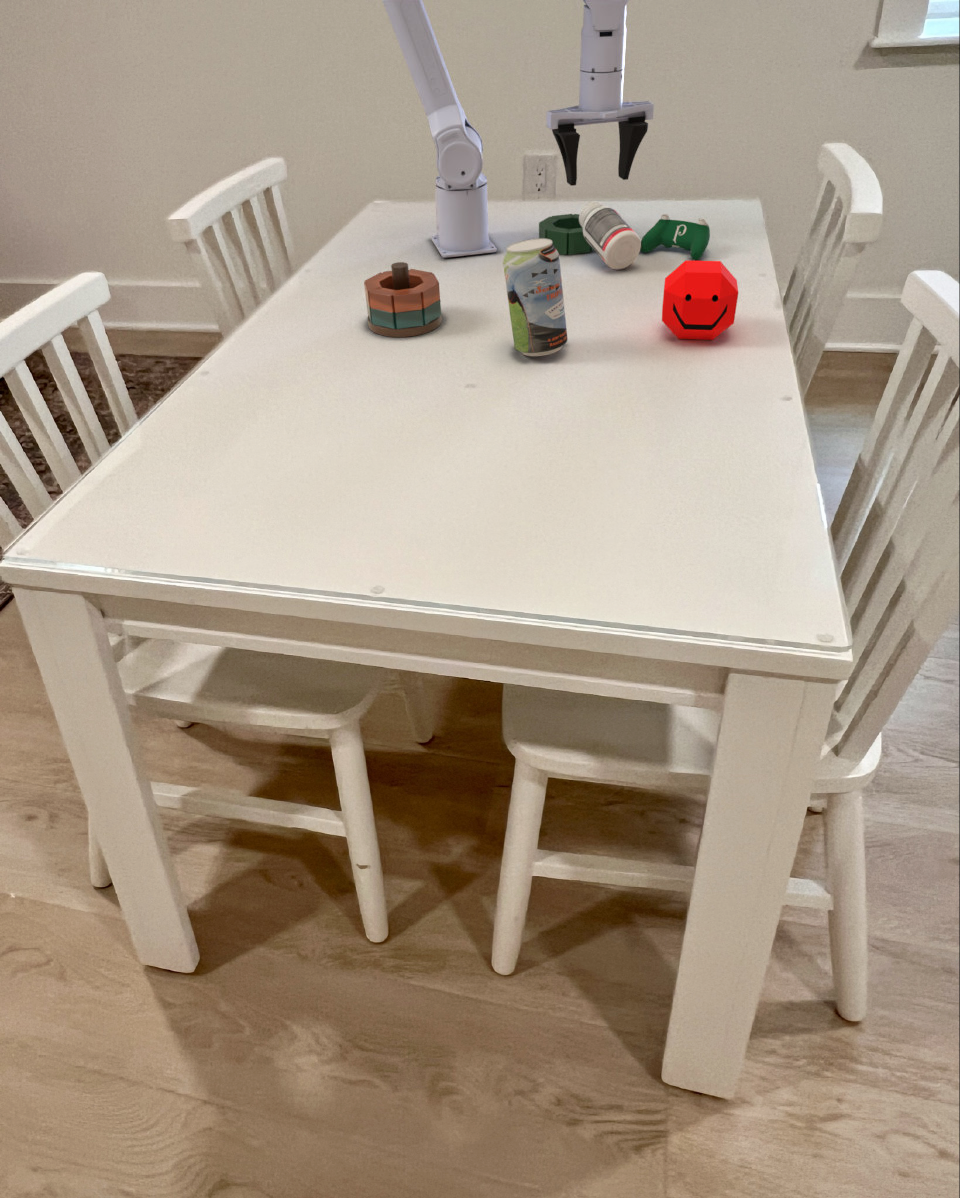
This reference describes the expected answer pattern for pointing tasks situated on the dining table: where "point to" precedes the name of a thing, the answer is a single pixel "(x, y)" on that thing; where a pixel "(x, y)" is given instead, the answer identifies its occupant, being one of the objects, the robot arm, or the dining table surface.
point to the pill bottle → (609, 235)
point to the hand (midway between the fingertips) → (597, 180)
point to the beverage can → (535, 297)
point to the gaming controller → (678, 236)
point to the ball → (699, 300)
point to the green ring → (565, 234)
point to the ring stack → (403, 302)
